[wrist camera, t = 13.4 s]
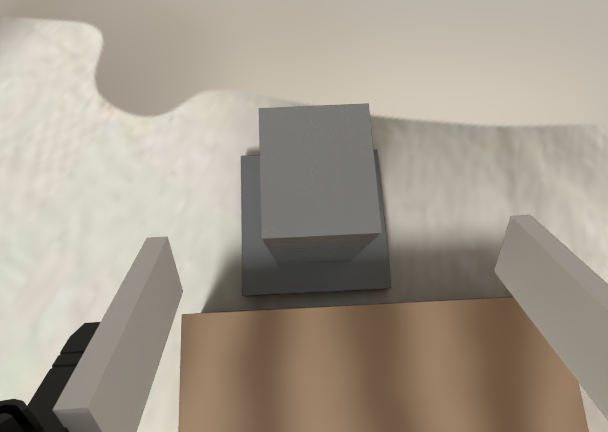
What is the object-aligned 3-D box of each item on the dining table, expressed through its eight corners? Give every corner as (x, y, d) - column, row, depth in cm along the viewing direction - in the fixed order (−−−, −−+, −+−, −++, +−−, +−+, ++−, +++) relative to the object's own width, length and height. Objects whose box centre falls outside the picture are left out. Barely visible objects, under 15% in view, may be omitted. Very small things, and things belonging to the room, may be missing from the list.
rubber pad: (244, 295, 25) (242, 295, 24) (242, 160, 27) (241, 156, 27) (388, 288, 25) (391, 287, 25) (374, 154, 28) (376, 149, 27)
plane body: (198, 444, 23) (177, 472, 19) (200, 313, 25) (181, 314, 21) (544, 424, 23) (592, 448, 19) (520, 296, 25) (560, 294, 21)
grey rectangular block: (350, 260, 25) (381, 233, 15) (277, 264, 25) (261, 238, 15) (344, 177, 26) (368, 103, 17) (275, 180, 26) (258, 108, 17)
